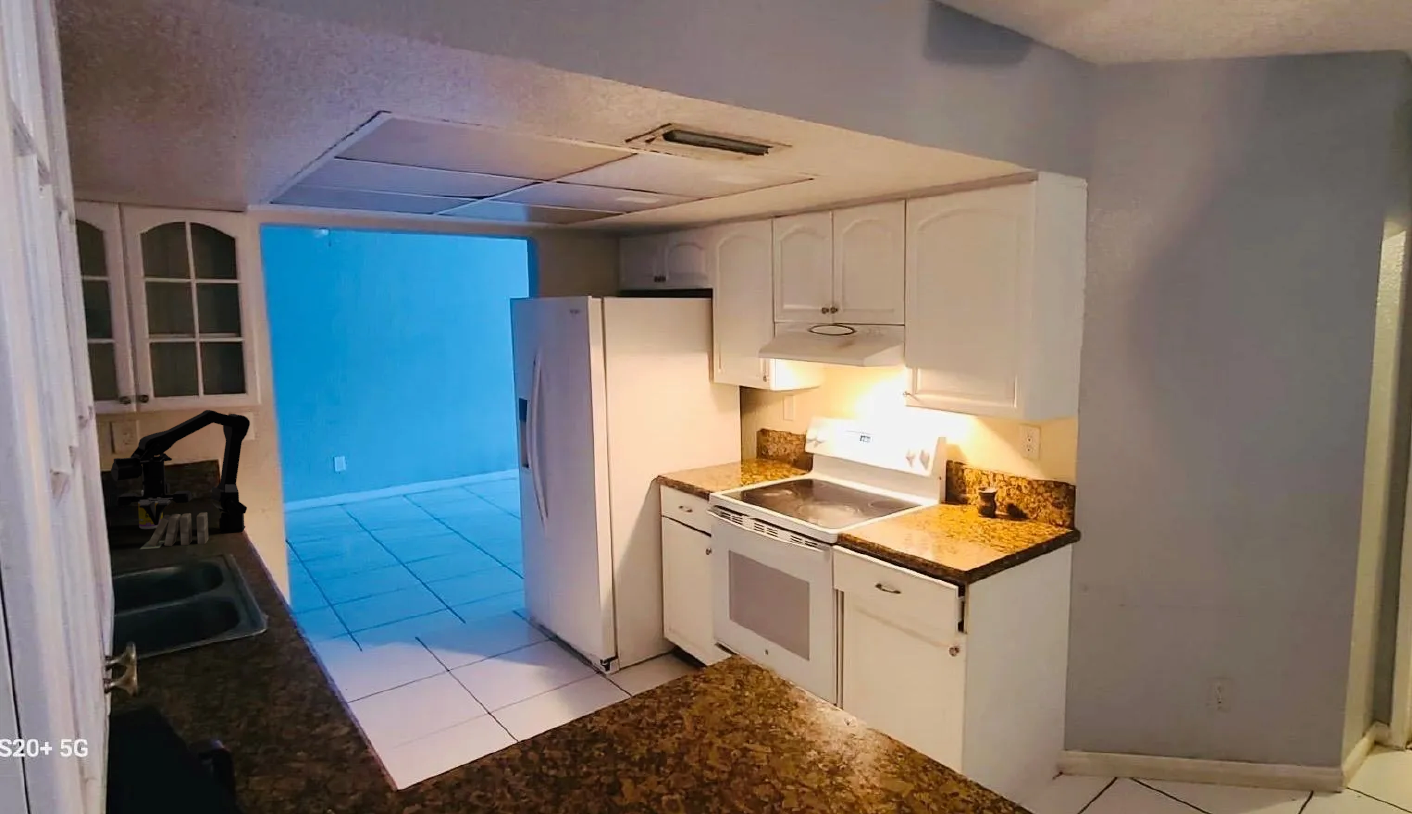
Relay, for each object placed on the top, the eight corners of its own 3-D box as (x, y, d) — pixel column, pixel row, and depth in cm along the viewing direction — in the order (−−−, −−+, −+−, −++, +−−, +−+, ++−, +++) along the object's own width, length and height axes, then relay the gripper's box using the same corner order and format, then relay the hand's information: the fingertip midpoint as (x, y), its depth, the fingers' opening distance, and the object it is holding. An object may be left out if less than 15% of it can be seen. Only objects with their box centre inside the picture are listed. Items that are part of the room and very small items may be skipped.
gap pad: (165, 541, 251) (165, 540, 251) (159, 547, 244) (159, 547, 244) (147, 542, 249) (147, 541, 249) (139, 549, 242) (139, 548, 242)
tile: (158, 542, 249) (172, 516, 250) (154, 546, 245) (168, 520, 245) (152, 539, 249) (166, 514, 249) (147, 544, 244) (161, 518, 245)
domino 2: (192, 540, 253) (190, 513, 252) (188, 544, 248) (187, 517, 247) (184, 540, 252) (183, 513, 251) (181, 545, 247) (179, 517, 246)
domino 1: (175, 541, 251) (180, 514, 251) (171, 545, 246) (176, 518, 246) (168, 540, 250) (173, 513, 250) (164, 545, 246) (169, 517, 245)
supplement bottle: (143, 530, 262) (141, 493, 260) (136, 527, 266) (134, 490, 264) (166, 527, 267) (164, 490, 266) (159, 523, 271) (157, 487, 270)
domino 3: (208, 539, 254) (207, 512, 253) (205, 543, 250) (203, 516, 249) (201, 539, 254) (200, 512, 253) (197, 544, 249) (196, 516, 248)
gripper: (194, 469, 256) (196, 516, 257) (125, 472, 249) (128, 520, 250) (186, 476, 245) (189, 525, 247) (114, 479, 238) (117, 529, 240)
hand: (156, 524), depth 246 cm, fingers closed
